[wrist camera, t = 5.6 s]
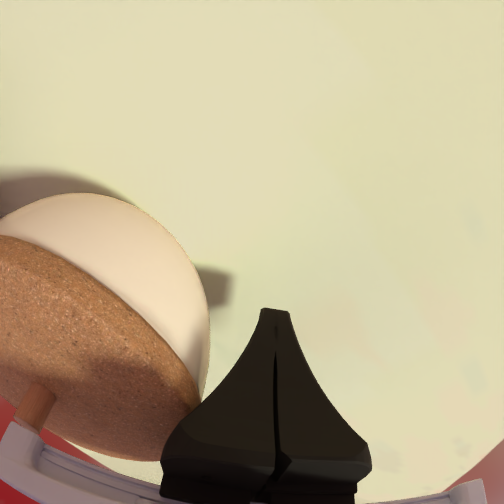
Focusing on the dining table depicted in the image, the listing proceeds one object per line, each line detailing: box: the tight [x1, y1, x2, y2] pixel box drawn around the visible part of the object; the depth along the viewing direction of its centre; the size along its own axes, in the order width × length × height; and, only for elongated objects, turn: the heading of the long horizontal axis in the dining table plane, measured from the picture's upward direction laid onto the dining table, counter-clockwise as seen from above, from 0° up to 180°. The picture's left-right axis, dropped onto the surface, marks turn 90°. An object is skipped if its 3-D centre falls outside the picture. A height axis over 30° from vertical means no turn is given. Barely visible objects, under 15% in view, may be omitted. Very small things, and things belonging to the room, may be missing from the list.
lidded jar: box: [0, 193, 210, 461], centre depth 11 cm, size 11×11×9 cm
